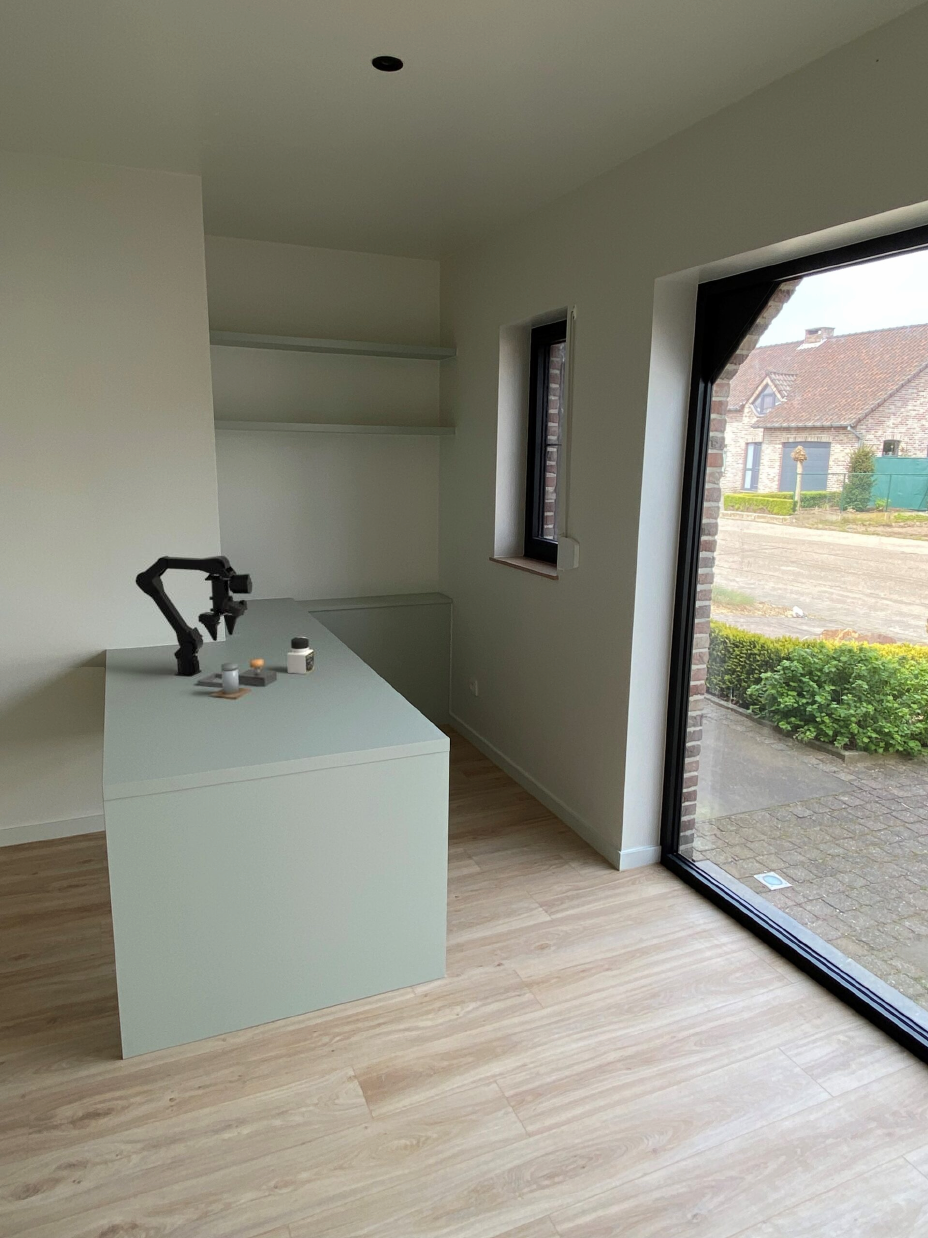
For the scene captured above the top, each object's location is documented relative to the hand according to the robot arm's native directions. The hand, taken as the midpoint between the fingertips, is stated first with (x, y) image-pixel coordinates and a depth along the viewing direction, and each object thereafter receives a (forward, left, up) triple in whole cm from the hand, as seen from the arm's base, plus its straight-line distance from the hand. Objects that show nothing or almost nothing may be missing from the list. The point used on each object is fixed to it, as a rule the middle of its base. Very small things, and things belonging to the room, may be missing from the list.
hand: (223, 637), depth 275 cm
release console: (+16, -5, -13) cm, 21 cm away
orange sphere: (+16, -5, -10) cm, 19 cm away
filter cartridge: (+14, -19, -12) cm, 27 cm away
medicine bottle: (+24, +11, -13) cm, 29 cm away
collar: (+4, -9, -13) cm, 16 cm away
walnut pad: (+14, -19, -13) cm, 27 cm away
